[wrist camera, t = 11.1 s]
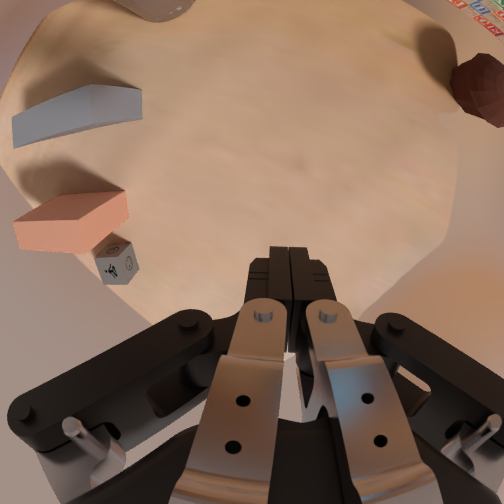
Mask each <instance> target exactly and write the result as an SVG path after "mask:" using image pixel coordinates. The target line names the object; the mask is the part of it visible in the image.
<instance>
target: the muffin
mask: <svg viewBox="0 0 504 504" xmlns="http://www.w3.org/2000/svg"><path fill="white" fill-rule="evenodd" d="M450 84H451V87H452V90H453V93H454V98H455V100H456V101H457V102H458V104H459V105H460V106H461V107H462V109H463V110H464V112H466V113H469V114H471V115H474V116H477V117H480V118H482V119H485V120H486V121H487V122H488V123H491V124H492V125H494V126H496V127H497V128H500V127H504V65H503V64H502V63H501V62H500V61H498V60H497V59H495V58H494V57H493V56H491V55H490V54H483V53H478V54H477V55H476V56H475V57H474V58H472V59H471V60H469V61H467V62H465V63H462V64H461V65H460V66H458V67H456V68H454V69H453V71H452V78H451V81H450Z"/></svg>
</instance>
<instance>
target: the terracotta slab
mask: <svg viewBox="0 0 504 504" xmlns="http://www.w3.org/2000/svg"><path fill="white" fill-rule="evenodd" d="M128 218H129V214H128V207H127V200H126V192H125V191H109V192H94V193H81V194H69V195H59V196H57V197H55V198H54V199H52V200H50V201H48V202H46V203H44V204H42V205H41V206H39V207H37V208H35V209H33V210H32V211H30V212H28V213H26V214H25V215H23V216H21V217H20V218H18V219H16V220H15V221H13V226H14V230H15V234H16V237H17V241H18V244H19V248H20V249H24V250H38V251H50V252H65V253H78V254H87V253H88V252H89V251H90V250H91V249H92V248H94V247H95V246H96V245H97V244H98V243H99V242H100V241H102V240H103V239H104V238H105V237H106V236H107V235H109V234H110V233H111V232H112V231H113V230H115V229H116V228H117V227H118V226H119V225H121V224H122V223H123V222H124V221H126V220H127V219H128Z"/></svg>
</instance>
